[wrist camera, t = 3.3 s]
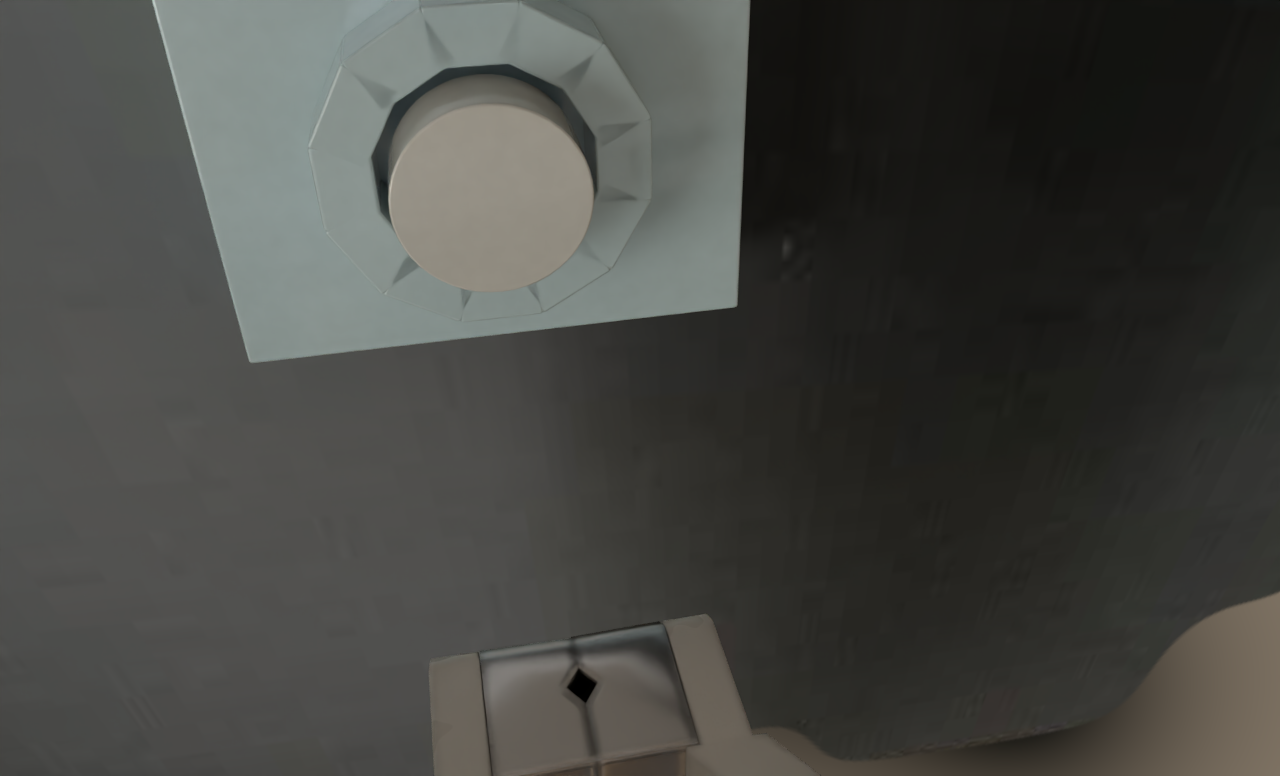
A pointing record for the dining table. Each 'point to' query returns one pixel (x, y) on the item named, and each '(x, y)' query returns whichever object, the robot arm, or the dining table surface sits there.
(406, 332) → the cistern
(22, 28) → the dining table surface
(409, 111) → the flush button
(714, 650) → the robot arm
